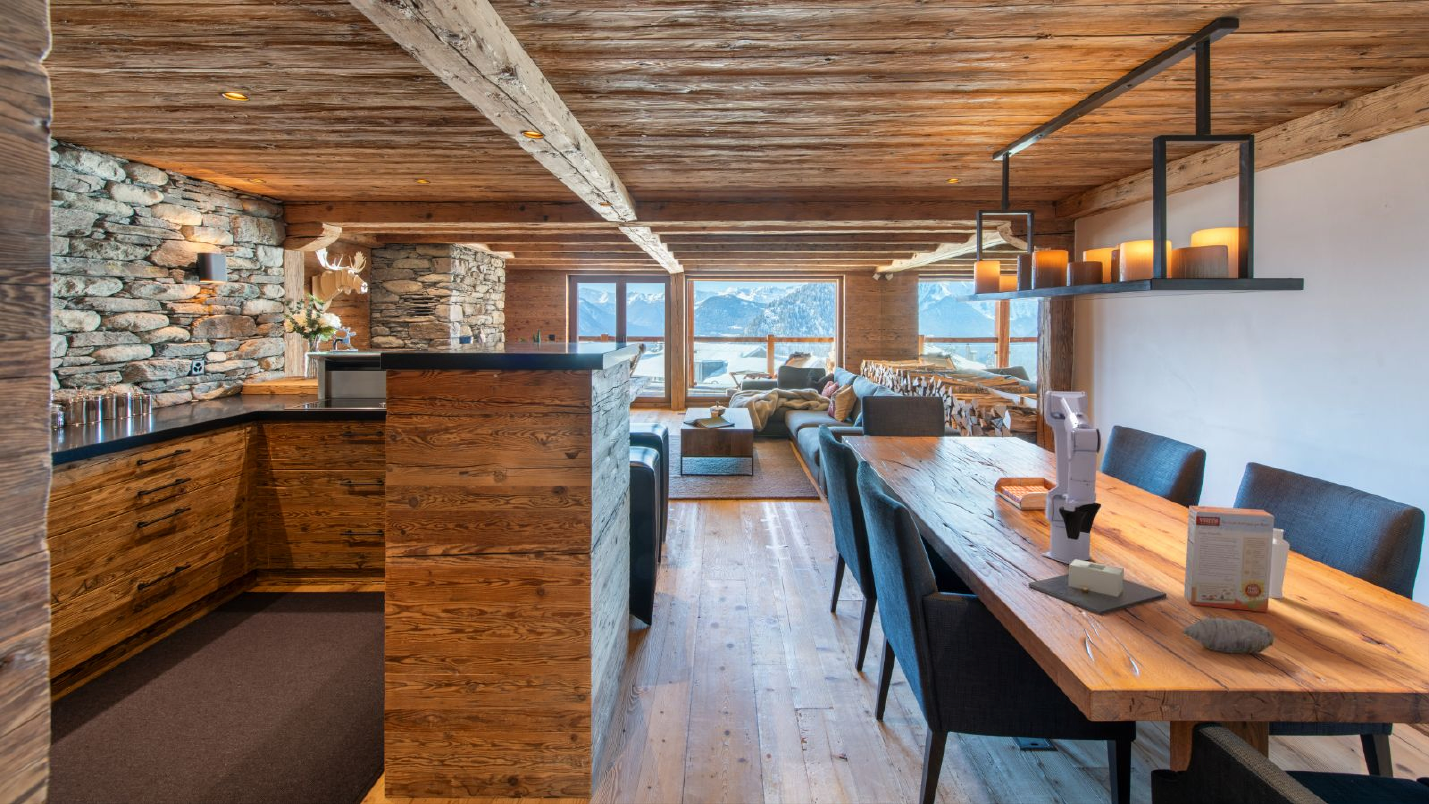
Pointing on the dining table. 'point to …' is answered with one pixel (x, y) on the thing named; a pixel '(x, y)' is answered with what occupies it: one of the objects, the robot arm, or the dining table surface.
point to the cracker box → (1229, 558)
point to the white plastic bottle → (1278, 563)
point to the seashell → (1230, 635)
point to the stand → (1097, 595)
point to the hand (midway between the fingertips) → (1078, 535)
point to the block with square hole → (1096, 577)
